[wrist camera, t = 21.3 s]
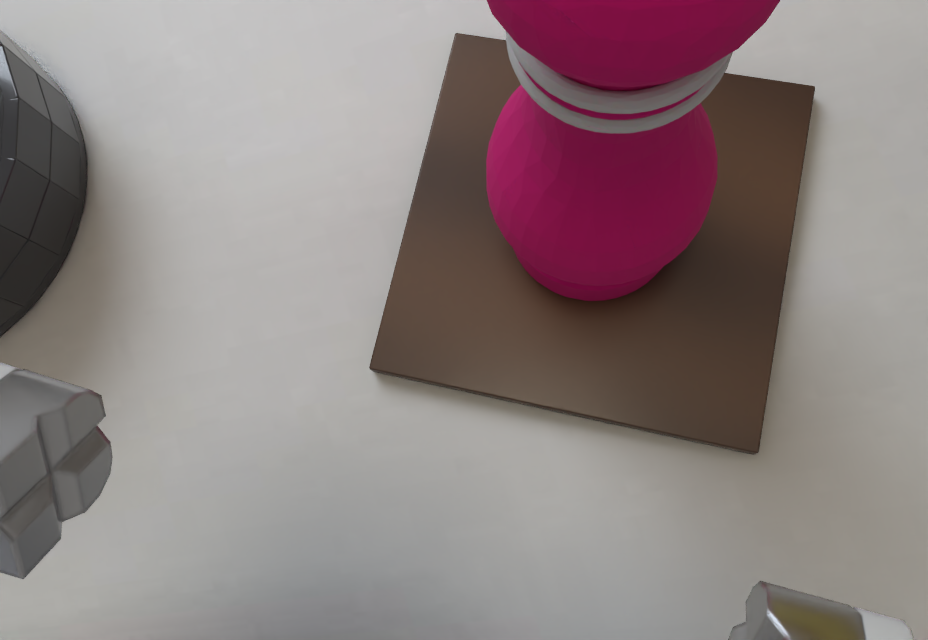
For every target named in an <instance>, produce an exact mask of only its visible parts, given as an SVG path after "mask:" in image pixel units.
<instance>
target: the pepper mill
mask: <svg viewBox="0 0 928 640" xmlns="http://www.w3.org/2000/svg"><path fill="white" fill-rule="evenodd" d="M487 2H488V5H489V7H490V9H491V12H492V14H493V15H494V17H495V18H496V19H497V20H498V21H499V23H500V24H501V25H502V26H503V28H504V29H505V30H506V43H507V50H508V55H509V59H510V62H511V64H512V67H513V69H514V72H515V74H516V76H517V78H518V80H519V82H520V84H521V85H520V86H519V87H518V88H517V89H516V90H515V91H514V93H513V94H512V95H511V96H510V98H509V99H508V101H507V102H506V104H505V106H504V107H503V109H502V111H501V113H500V115H499V118H498V120H497V122H496V124H495V127H494V130H493V133H492V136H491V139H490V141H489V145H488V152H487V159H486V181H487V195H488V200H489V206H490V208H491V211H492V214H493V217H494V219H495V222H496V224H497V225H498V227H499V229H500V231H501V232H502V234H503V236H504V237H505V239H506V240H507V242H508V243H509V244H510V245H511V246H512V248H513V249H514V252H515V254H516V256H517V258H518V260H519V261H520V263H521V264H522V266H523V267H524V269H525V270H526V271H527V272H528V273H529V274H530V275H531V276H532V277H533V278H534V279H535V280H536V281H537V282H539V283H540V284H542V285H543V286H545V287H546V288H548V289H549V290H551V291H553V292H555V293H557V294H559V295H562V296H565V297H569V298H574V299H579V300H584V301H603V300H609V299H614V298H618V297H621V296H624V295H627V294H629V293H631V292H633V291H636V290H637V289H639V288H640V287H642V286H643V285H645V284H646V283H648V282H649V281H650V280H651V279H652V278H653V277H654V276H655V275H656V274H657V273H658V272H659V271H660V270H661V269H662V268H663V266H665V265H666V264H668V263H669V262H671V261H672V260H673V259H675V258H676V257H677V256H678V255H679V254H680V253H681V252H682V251H683V250H684V249H685V248H686V247H687V246H688V245H689V243H690V242H691V241H692V240H693V238H694V237H695V236H696V234H697V233H698V232H699V230H700V228H701V226H702V224H703V222H704V220H705V218H706V215H707V213H708V211H709V207H710V203H711V200H712V196H713V192H714V189H715V185H716V181H717V161H718V156H717V150H716V145H715V140H714V134H713V131H712V128H711V124H710V121H709V118H708V115H707V114H706V112H705V110H704V108H703V107H702V105H701V102H702V101H703V100H704V99H705V98H706V97H707V96H708V95H709V94H710V93H711V91H712V90H713V89H714V88H715V86H716V85H717V84H718V83H719V82H720V80H721V78H722V76H723V75H724V73H725V71H726V69H727V67H728V64H729V61H730V58H731V55H732V53H733V51H735V50H736V49H738V48H739V47H740V46H741V45H742V44H743V43H744V42H745V41H746V40H747V39H749V38H750V37H751V36H752V35H753V34H754V33H755V32H756V31H757V30H758V29H759V28H760V27H761V26H762V25H763V24H764V23H765V22H766V21H767V19H768V18H769V16H770V15H771V13H772V12H773V10H774V9H775V7H776V6H777V5H778V3H779V2H780V0H487Z"/></svg>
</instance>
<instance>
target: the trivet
mask: <svg viewBox="0 0 928 640" xmlns="http://www.w3.org/2000/svg"><path fill="white" fill-rule="evenodd" d="M520 85H521V84H520V82H519V80H518V78H517V76H516V74H515V72H514V69H513V67H512V64H511V62H510V59H509V55H508V50H507V43H506V40H500V39H493V38H486V37H479V36H473V35H466V34H459V33H456V34H455V37H454V41H453V45H452V49H451V52H450V56H449V60H448V64H447V68H446V72H445V76H444V80H443V84H442V87H441V91H440V95H439V99H438V103H437V107H436V111H435V115H434V118H433V122H432V126H431V130H430V134H429V138H428V142H427V146H426V149H425V153H424V157H423V161H422V165H421V169H420V173H419V177H418V181H417V184H416V188H415V192H414V196H413V200H412V204H411V208H410V212H409V215H408V219H407V223H406V227H405V231H404V235H403V239H402V243H401V247H400V250H399V254H398V258H397V262H396V266H395V270H394V274H393V278H392V281H391V285H390V289H389V293H388V297H387V301H386V305H385V309H384V312H383V316H382V320H381V324H380V328H379V332H378V336H377V340H376V344H375V347H374V351H373V355H372V359H371V363H370V367H369V368H370V369H371V370H372V371H373V372H378V373H383V374H387V375H392V376H396V377H401V378H406V379H410V380H415V381H419V382H424V383H428V384H433V385H438V386H442V387H447V388H451V389H456V390H461V391H465V392H470V393H474V394H479V395H483V396H488V397H493V398H497V399H502V400H506V401H511V402H516V403H520V404H525V405H529V406H534V407H538V408H543V409H548V410H552V411H557V412H561V413H566V414H571V415H575V416H580V417H584V418H589V419H593V420H598V421H603V422H607V423H612V424H616V425H621V426H626V427H630V428H635V429H639V430H644V431H649V432H653V433H658V434H662V435H667V436H671V437H676V438H681V439H685V440H690V441H694V442H699V443H704V444H708V445H713V446H717V447H722V448H726V449H731V450H736V451H740V452H745V453H749V454H756V453H758V452H759V445H760V439H761V432H762V426H763V420H764V413H765V407H766V400H767V394H768V387H769V381H770V374H771V368H772V362H773V355H774V349H775V342H776V336H777V329H778V323H779V317H780V310H781V304H782V297H783V291H784V284H785V278H786V271H787V265H788V259H789V252H790V246H791V239H792V233H793V226H794V220H795V214H796V207H797V201H798V194H799V188H800V181H801V175H802V168H803V162H804V156H805V149H806V143H807V136H808V130H809V123H810V117H811V111H812V104H813V98H814V91H815V87H814V86H809V85H802V84H795V83H789V82H782V81H775V80H769V79H762V78H755V77H748V76H742V75H735V74H728V73H724V75H723V76H722V78H721V80H720V82H719V83H718V84H717V85H716V86H715V88H714V89H713V90H712V91H711V93H710V94H709V95H708V96H707V97H706V98H705V99H704V100H703V101H702V102H701V105H702V107H703V108H704V110H705V112H706V114H707V115H708V118H709V121H710V124H711V128H712V131H713V134H714V140H715V145H716V150H717V156H718V161H717V181H716V185H715V189H714V192H713V196H712V200H711V203H710V207H709V211H708V213H707V215H706V218H705V220H704V222H703V224H702V226H701V228H700V230H699V232H698V233H697V234H696V236H695V237H694V238H693V240H692V241H691V242H690V243H689V245H688V246H687V247H686V248H685V249H684V250H683V251H682V252H681V253H680V254H679V255H678V256H677V257H676V258H675V259H673V260H672V261H671V262H669V263H668V264H666V265H665V266H663V268H662V269H661V270H660V271H659V272H658V273H657V274H656V275H655V276H654V277H653V278H652V279H651V280H650V281H649V282H648V283H646V284H645V285H643V286H642V287H640V288H639V289H637V290H636V291H633V292H631V293H629V294H627V295H624V296H621V297H618V298H614V299H609V300H603V301H584V300H579V299H574V298H569V297H565V296H562V295H559V294H557V293H555V292H553V291H551V290H549V289H548V288H546V287H545V286H543V285H542V284H540V283H539V282H537V281H536V280H535V279H534V278H533V277H532V276H531V275H530V274H529V273H528V272H527V271H526V270H525V269H524V267H523V266H522V264H521V263H520V261H519V260H518V258H517V256H516V254H515V252H514V249H513V248H512V246H511V245H510V244H509V243H508V242H507V240H506V239H505V237H504V236H503V234H502V232H501V231H500V229H499V227H498V225H497V224H496V222H495V219H494V217H493V214H492V211H491V208H490V206H489V200H488V195H487V181H486V159H487V152H488V145H489V141H490V139H491V136H492V133H493V130H494V127H495V124H496V122H497V120H498V118H499V115H500V113H501V111H502V109H503V107H504V106H505V104H506V102H507V101H508V99H509V98H510V96H511V95H512V94H513V93H514V91H515V90H516V89H517V88H518V87H519V86H520Z"/></svg>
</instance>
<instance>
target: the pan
mask: <svg viewBox="0 0 928 640" xmlns="http://www.w3.org/2000/svg"><path fill="white" fill-rule="evenodd" d="M86 174H87V163H86V155H85V147H84V141H83V137H82V134H81V130H80V126H79V123H78V120H77V118H76V116H75V114H74V111H73V109H72V107H71V105H70V103H69V101H68V100H67V98H66V97H65V95H64V93H63V92H62V90H61V89H60V87H59V86H58V85H57V84H56V83H55V82H54V81H53V79H52V78H51V77H50V76H49V75H48V74H47V73H46V72H45V71H44V70H43V69H42V68H41V67H40V65H39V64H38V63H37V62H36V60H34V59H33V58H32V57H31V56H30V55H29V54H27V53H26V52H25V51H24V50H23V49H22V48H21V47H19V46H18V45H17V44H16V43H15V42H14V41H12V40H11V39H10V38H9V37H8V36H7V35H5V34H4V33H3V32H2V31H1V30H0V335H2V334H3V333H4V332H6V331H7V330H8V329H9V328H10V327H11V326H12V325H13V324H15V323H16V322H17V321H18V320H19V319H20V318H21V317H22V316H24V314H25V313H26V312H27V311H28V310H29V309H30V308H31V307H32V306H33V304H34V303H35V302H36V301H37V300H38V299H39V298H40V297H41V295H42V294H43V292H44V291H45V290H46V288H47V287H48V285H49V284H50V283H51V281H52V280H53V278H54V277H55V276H56V274H57V272H58V270H59V268H60V267H61V265H62V263H63V261H64V259H65V258H66V256H67V254H68V252H69V249H70V247H71V244H72V242H73V239H74V237H75V235H76V232H77V229H78V225H79V222H80V218H81V214H82V211H83V205H84V199H85V192H86Z"/></svg>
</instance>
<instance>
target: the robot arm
mask: <svg viewBox="0 0 928 640" xmlns="http://www.w3.org/2000/svg"><path fill="white" fill-rule="evenodd" d="M105 416H106V414H105V410H104V406H103V401H102V397H101V395H99V394H97V393H95V392H93V391H91V390H89V389H86V388H82V387H79V386H76V385H73V384H70V383H67V382H63V381H60V380H57V379H54V378H51V377H48V376H44V375H41V374H38V373H35V372H32V371H29V370H25V369H20V368H17V367H14V366H11V365H7V364H4V363H1V362H0V572H1V573H4V574H8V575H11V576H14V577H18V578H21V579H24V578H25V577H26V576H27V575H28V574H29V573H30V571H31V570H32V569H33V568H34V567H35V566H36V565H37V564H38V563H39V562H40V561H41V560H42V559H43V557H44V556H45V555H46V554H47V553H48V552H49V551H50V550H51V549H52V548H53V547H54V546H55V544H56V543H57V542H58V541H59V540H60V539H61V532H62V522H63V521H65V520H68V519H70V518H73V517H75V516H77V515H80V514H82V513H85V512H86V511H87V510H88V508H89V507H90V506H91V505H92V504H93V503H94V502H95V500H96V499H97V498H98V497H99V496H100V494H101V492H102V490H103V488H104V486H105V484H106V482H107V480H108V477H109V475H110V471H111V464H112V450H111V444H110V441H109V440H108V439H107V437H106V436H105V435H104V434H103V432H102V431H101V430H100V428H99V427H98V426H97V425H98V424H99V423H100V422H101V421H102V420H103V418H104V417H105ZM728 640H914V639H913V635H912V631H911V629H910V628H909V626H908V625H907V624H906V622H905V621H904V620H900V619H896V618H893V617H889V616H886V615H882V614H878V613H875V612H871V611H868V610H864V609H860V608H857V607H854V608H852V607H851V606H850V605H847V604H843V603H839V602H836V601H832V600H828V599H825V598H821V597H817V596H814V595H810V594H807V593H803V592H799V591H796V590H792V589H788V588H785V587H781V586H777V585H774V584H770V583H767V582H763V581H759V582H758V583H757V584H756V585H755V586H754V587H753V589H752V591H751V592H750V594H749V596H748V598H747V600H746V622H744V623H742V624H739V625H737V626H734V627H733V629H732V631H731V633H730V636H729V638H728Z"/></svg>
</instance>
